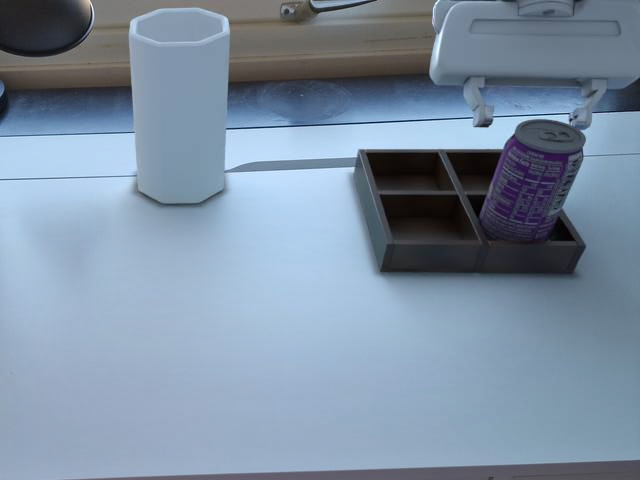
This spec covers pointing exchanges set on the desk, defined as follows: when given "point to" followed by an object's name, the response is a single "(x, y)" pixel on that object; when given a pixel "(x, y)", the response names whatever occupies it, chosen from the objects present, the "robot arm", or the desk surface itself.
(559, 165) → the beverage can
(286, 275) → the desk surface
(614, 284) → the desk surface
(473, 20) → the robot arm
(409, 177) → the grid
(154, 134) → the cup
